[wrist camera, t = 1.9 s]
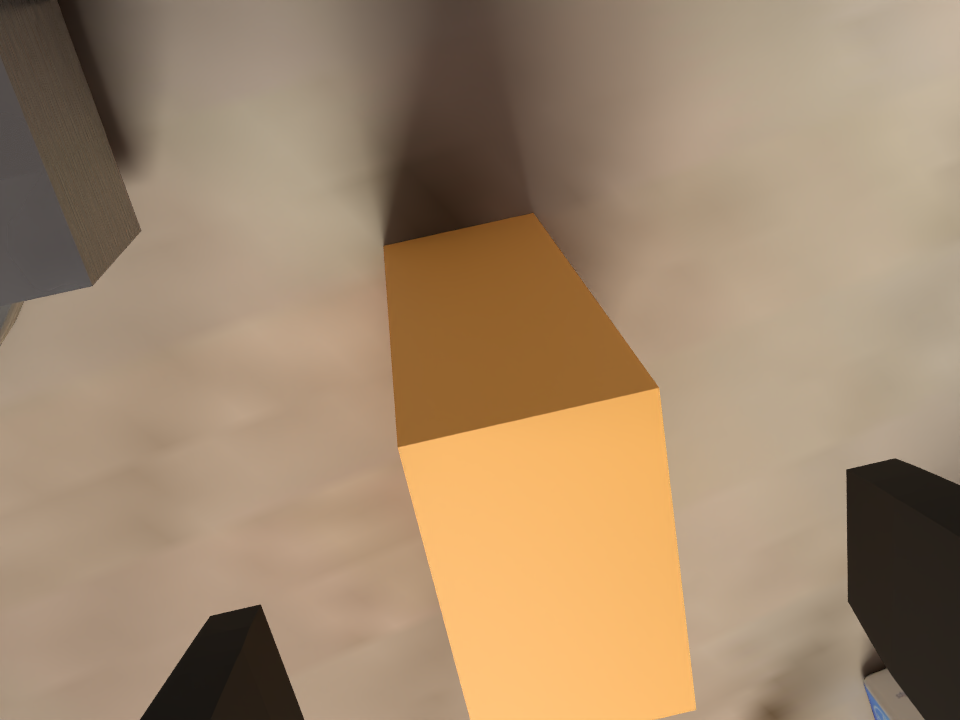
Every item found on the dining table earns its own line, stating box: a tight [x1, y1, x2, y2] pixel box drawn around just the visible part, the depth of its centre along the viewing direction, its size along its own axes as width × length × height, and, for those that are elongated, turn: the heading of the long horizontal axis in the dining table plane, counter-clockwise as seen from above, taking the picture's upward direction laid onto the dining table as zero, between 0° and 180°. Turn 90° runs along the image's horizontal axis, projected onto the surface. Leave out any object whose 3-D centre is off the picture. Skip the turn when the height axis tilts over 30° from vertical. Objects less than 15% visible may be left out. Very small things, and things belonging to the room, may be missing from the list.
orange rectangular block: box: [383, 213, 696, 720], centre depth 14 cm, size 5×3×8 cm, turn 11°
